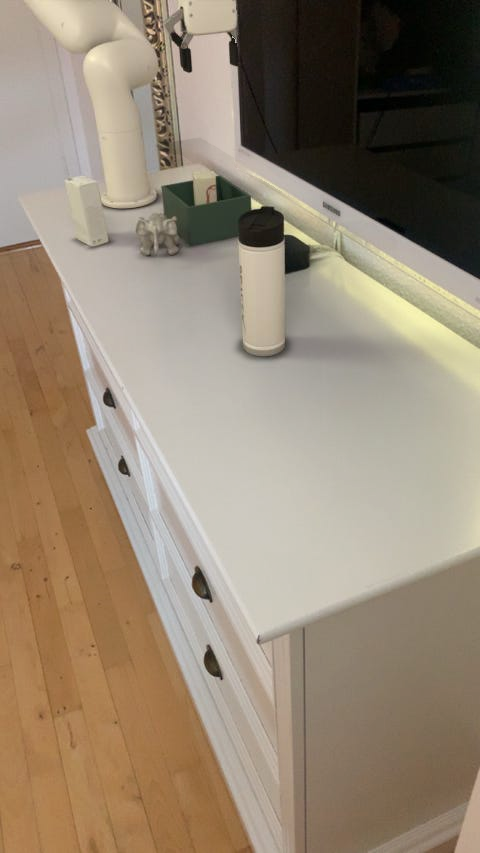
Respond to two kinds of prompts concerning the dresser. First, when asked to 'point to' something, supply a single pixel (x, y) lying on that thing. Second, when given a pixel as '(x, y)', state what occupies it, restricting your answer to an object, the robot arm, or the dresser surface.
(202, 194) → the cream printed box
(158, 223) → the gray elephant figurine
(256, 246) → the travel mug
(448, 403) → the dresser surface
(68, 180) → the cosmetic box
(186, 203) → the bin
